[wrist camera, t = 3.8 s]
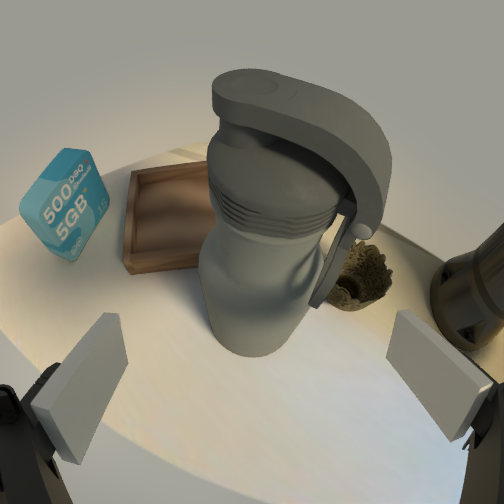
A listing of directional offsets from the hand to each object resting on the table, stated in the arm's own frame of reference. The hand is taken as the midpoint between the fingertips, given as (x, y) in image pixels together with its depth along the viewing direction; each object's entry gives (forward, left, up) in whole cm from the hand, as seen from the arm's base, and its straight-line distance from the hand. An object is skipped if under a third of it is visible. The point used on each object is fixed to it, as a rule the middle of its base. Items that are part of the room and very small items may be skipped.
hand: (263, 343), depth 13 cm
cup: (+8, -14, -21) cm, 26 cm away
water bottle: (+7, -2, -21) cm, 22 cm away
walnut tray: (+23, +5, -21) cm, 32 cm away
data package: (+24, +21, -21) cm, 39 cm away
